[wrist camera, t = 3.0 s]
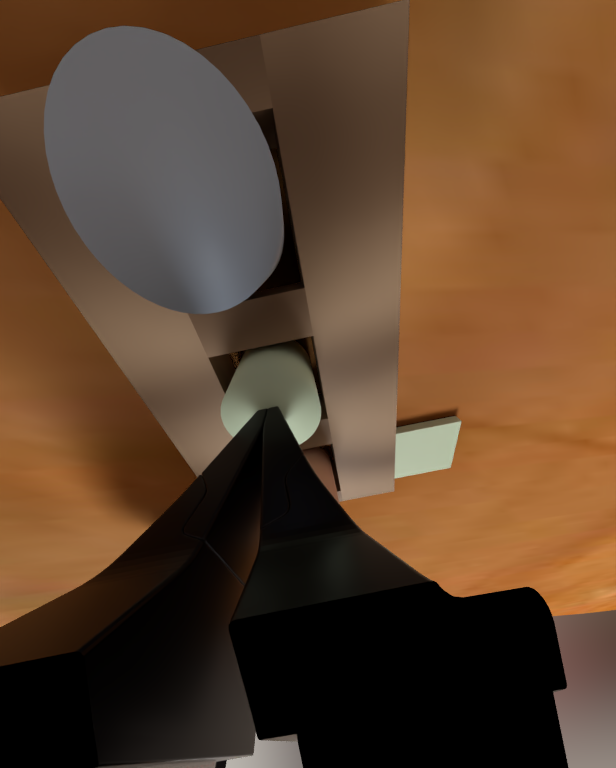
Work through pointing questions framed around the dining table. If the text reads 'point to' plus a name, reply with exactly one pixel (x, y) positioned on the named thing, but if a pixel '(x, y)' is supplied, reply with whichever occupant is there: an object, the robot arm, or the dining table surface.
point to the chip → (425, 446)
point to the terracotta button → (322, 468)
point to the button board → (310, 234)
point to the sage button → (274, 389)
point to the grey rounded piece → (163, 170)
